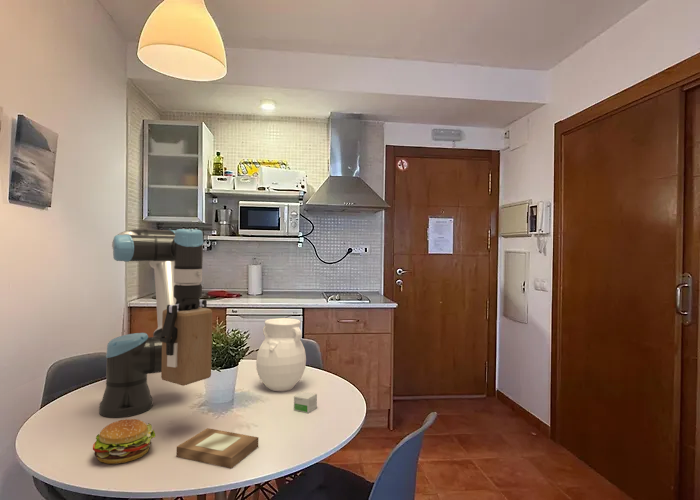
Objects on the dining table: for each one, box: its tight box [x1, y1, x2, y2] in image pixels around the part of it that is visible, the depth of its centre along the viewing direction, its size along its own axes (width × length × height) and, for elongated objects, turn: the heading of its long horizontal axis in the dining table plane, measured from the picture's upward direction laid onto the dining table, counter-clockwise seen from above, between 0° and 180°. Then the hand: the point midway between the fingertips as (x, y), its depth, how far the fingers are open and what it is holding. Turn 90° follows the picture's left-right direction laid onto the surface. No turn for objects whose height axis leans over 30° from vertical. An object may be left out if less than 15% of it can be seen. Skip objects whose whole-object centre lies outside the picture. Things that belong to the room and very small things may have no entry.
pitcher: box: [255, 317, 307, 392], centre depth 164 cm, size 19×18×25 cm
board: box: [175, 427, 259, 469], centre depth 111 cm, size 16×12×3 cm
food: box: [92, 418, 156, 465], centre depth 110 cm, size 14×14×8 cm
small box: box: [293, 390, 318, 414], centre depth 142 cm, size 6×6×5 cm
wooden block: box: [160, 307, 213, 387], centre depth 123 cm, size 10×10×20 cm
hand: (186, 361), depth 123 cm, fingers closed on wooden block, 11 cm apart
